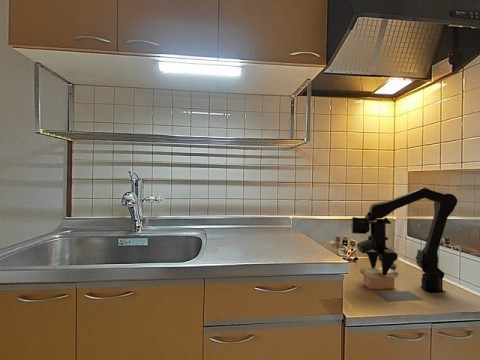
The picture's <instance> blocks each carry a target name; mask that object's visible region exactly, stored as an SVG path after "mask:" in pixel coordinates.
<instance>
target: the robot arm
mask: <svg viewBox="0 0 480 360" xmlns="http://www.w3.org/2000/svg"><path fill="white" fill-rule="evenodd" d="M422 199H426V200H428V201H431V202H433V210H434V214H433V218H432V222H431V224H430V225H431V226H430V229H429V232H428V235H427V238H426V242H425V245H424V247H423V249H422V250H420V249H417V254H416V256H415V257H414V259H415V262H416V264H417V267H419V268H420V269H421V271H422V272H423V273H422V277H421V286H419V288H421V289H422V290H424V291H425V292H427V293H430V294H436V293H437V294H439V293H441V294H442V293H446V290H444V288H443V283H444V282H443V279H444V276H445V272H444V271H442V270H441V269H440V268H439V254H438V253H439V249H440V248H439V247H440V244H441V241H442V238H443V234H444V232H445V231H444V230H445V228H446V224H447V221H448V218H449V217H450V215H451V214H452V213H453V211H454V210H455V208H456V206H457V205H458V198H457V196H455V195H454V194H452V193H446V192H439V191H435V190H432V189H429V188H427V187H418V188H417V189H415V190H413V191H410V192H407V193H405V194H402V195H401V196H398V197H396V198H393V199H391V200H386V201H385V200H384V201H380V202H375V203H373V204H371V205H370V207H369V210H368V212H367V214H366V215H365V216H364V217H356V216H352V218H351V219H352V220H351V226H350V227H351V233H352V234H355V235H356V234H359V235H360V234H361V235H367V233H369V232H370V235H368V237H367V239H366V240H363V241H360V242H358V243H356V247H357V249H358V252H360V253H361V254H366V256H367V257H368V261H369V263H370V268H376V267H377V266H376V265H377V261H379V262H380V263H381V264H380V265H381V268H382V272H383V275H386V274H387V272H388V271H389V269H390V267H391V265H392V264H393V262H394V263H395V262H396V261H397V260H398V255H399V254H397V253H396V252H395V251H394V250H393V251H391V250H392V249H391V250H388V249H389V247H388V246H387V241H389V237H387V231H386V227H387V224H388V225H390V224H392V222H391V221H390V220H389V219H388V217H387V216H389V215H390V214H391V213H393V212H394V211H395V210H397V209H400V208H402V207H405V206H408V205H409V204H412V203H415V202H417V201H420V200H422ZM387 250H388V251H387Z"/></svg>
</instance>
